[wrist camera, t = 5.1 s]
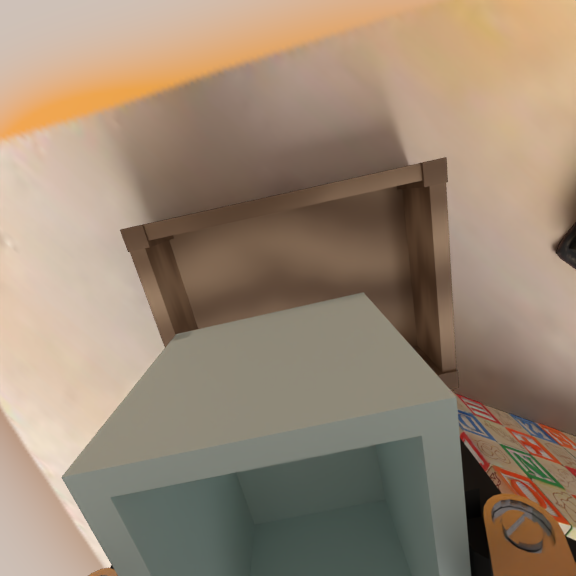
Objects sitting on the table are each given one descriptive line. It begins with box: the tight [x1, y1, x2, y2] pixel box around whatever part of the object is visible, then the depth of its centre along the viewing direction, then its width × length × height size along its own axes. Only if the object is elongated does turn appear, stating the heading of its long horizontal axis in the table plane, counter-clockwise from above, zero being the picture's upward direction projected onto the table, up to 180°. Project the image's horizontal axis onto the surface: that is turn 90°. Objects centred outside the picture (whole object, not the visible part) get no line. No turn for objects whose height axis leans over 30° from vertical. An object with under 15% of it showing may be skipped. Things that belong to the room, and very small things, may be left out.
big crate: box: [120, 157, 459, 389], centre depth 23 cm, size 16×20×5 cm
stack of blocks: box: [453, 393, 576, 540], centre depth 24 cm, size 21×6×12 cm, turn 69°
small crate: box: [62, 292, 471, 576], centre depth 9 cm, size 9×6×6 cm
